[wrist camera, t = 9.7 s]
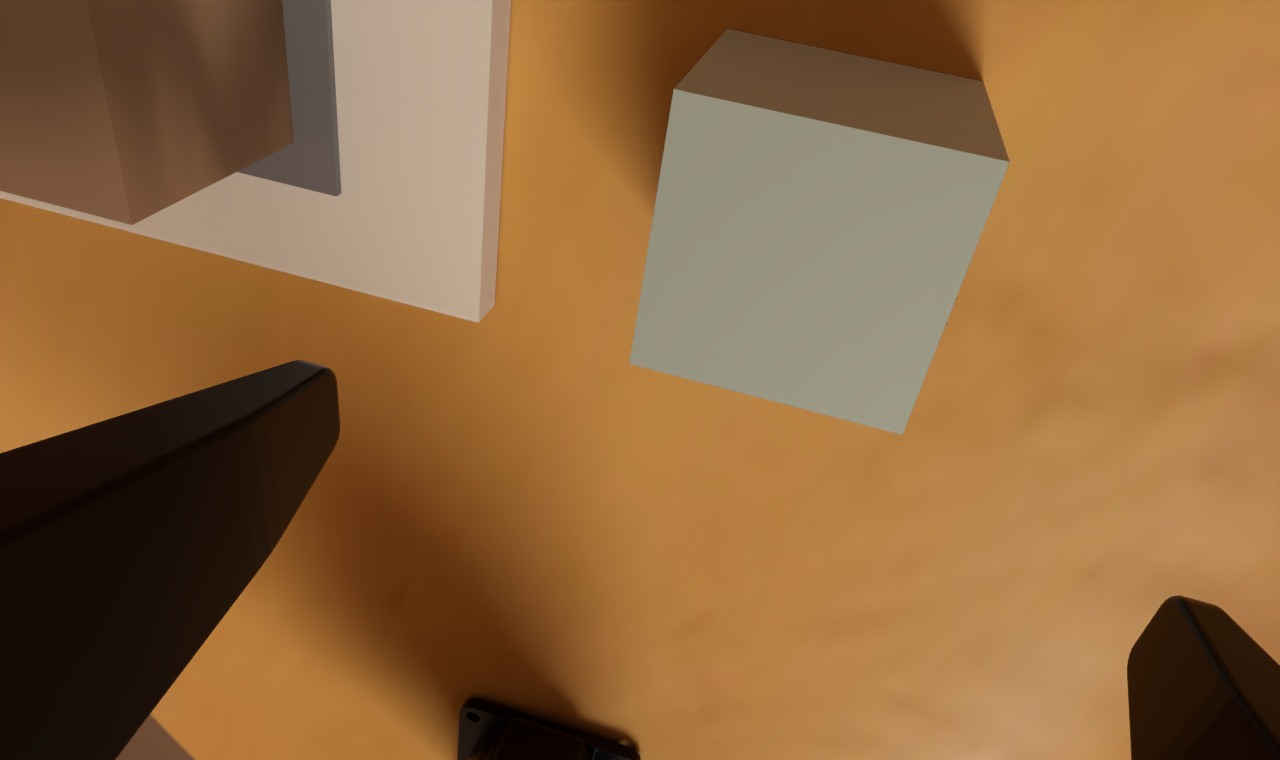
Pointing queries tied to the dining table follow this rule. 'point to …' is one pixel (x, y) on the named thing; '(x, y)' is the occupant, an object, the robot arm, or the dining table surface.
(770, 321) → the grey-green block
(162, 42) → the walnut block
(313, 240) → the white flat plate
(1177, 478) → the dining table surface
